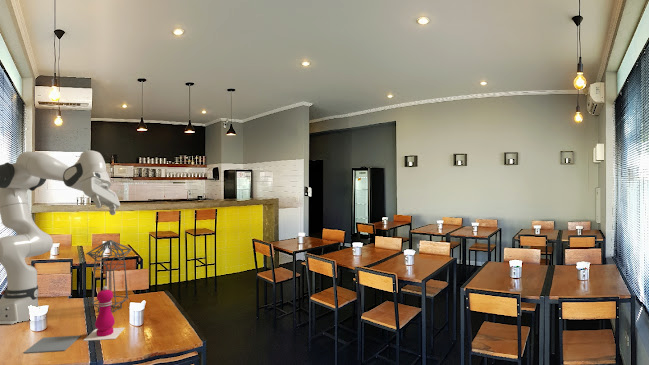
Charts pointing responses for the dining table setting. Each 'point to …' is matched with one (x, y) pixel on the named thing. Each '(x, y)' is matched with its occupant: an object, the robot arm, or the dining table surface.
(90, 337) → the white flat square plate
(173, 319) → the dining table surface
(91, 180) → the robot arm
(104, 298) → the pepper mill
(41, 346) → the slate mat
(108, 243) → the geometric lantern
